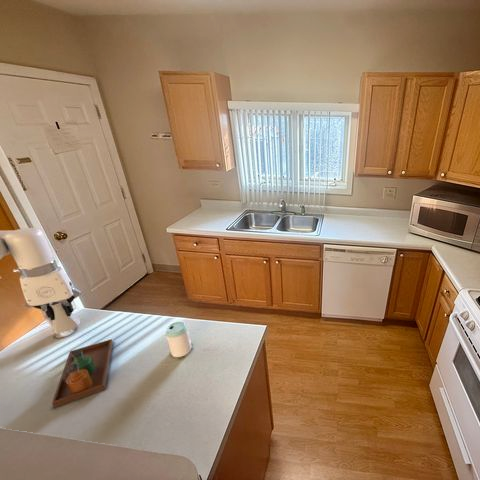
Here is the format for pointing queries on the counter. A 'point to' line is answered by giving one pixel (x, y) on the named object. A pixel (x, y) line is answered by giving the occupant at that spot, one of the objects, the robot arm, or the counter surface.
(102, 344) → the tray
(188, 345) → the can
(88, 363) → the green bottle
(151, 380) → the counter surface
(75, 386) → the amber bottle
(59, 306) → the flask
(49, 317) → the beer glass
